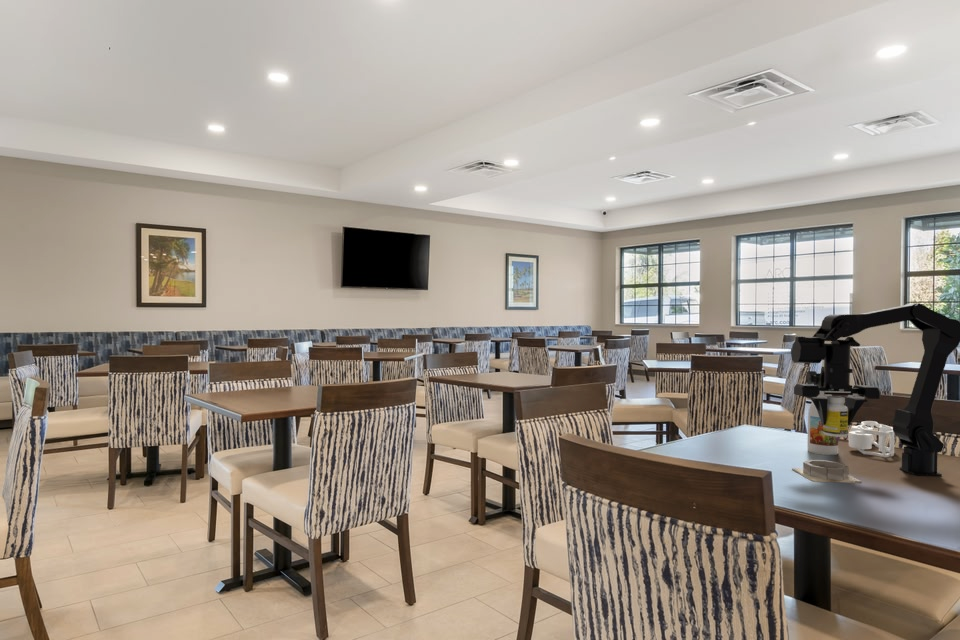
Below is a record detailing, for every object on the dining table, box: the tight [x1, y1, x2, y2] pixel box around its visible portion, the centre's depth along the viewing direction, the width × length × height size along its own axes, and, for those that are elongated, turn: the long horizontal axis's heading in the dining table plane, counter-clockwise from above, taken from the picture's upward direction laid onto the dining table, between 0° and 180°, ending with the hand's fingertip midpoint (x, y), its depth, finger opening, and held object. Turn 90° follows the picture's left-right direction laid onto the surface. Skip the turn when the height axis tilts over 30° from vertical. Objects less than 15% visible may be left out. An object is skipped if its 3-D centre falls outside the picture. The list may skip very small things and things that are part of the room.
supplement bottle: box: [823, 395, 849, 438], centre depth 154 cm, size 5×5×10 cm
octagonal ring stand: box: [791, 459, 863, 484], centre depth 147 cm, size 11×11×3 cm
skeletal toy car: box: [848, 420, 895, 458], centre depth 179 cm, size 20×11×7 cm, turn 145°
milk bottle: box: [807, 389, 839, 456], centre depth 175 cm, size 8×8×20 cm
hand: (835, 425), depth 154 cm, fingers closed on supplement bottle, 5 cm apart
